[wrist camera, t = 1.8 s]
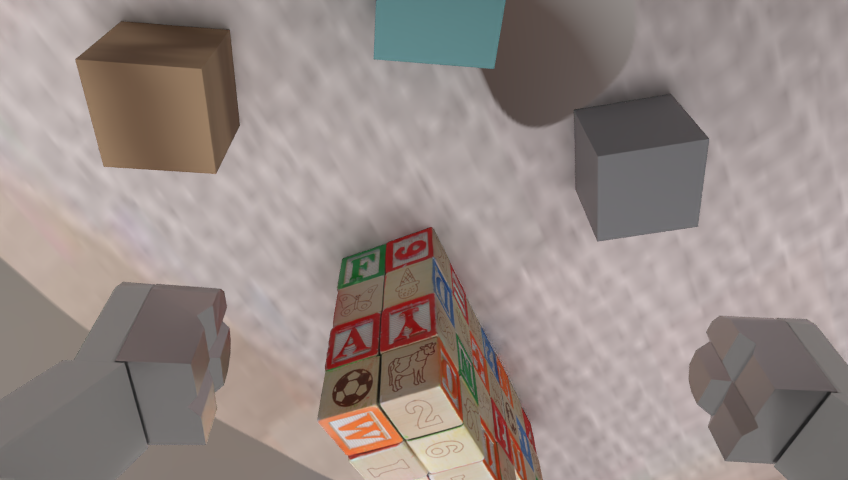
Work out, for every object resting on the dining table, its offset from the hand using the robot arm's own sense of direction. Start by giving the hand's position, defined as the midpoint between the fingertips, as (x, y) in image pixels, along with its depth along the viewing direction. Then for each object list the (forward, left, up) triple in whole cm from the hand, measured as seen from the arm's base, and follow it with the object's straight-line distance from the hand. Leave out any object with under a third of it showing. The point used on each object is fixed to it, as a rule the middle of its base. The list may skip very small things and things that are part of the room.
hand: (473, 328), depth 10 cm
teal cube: (0, -1, -22) cm, 22 cm away
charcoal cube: (-11, +7, -22) cm, 26 cm away
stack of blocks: (-4, +24, -22) cm, 33 cm away
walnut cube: (+12, +5, -22) cm, 26 cm away
